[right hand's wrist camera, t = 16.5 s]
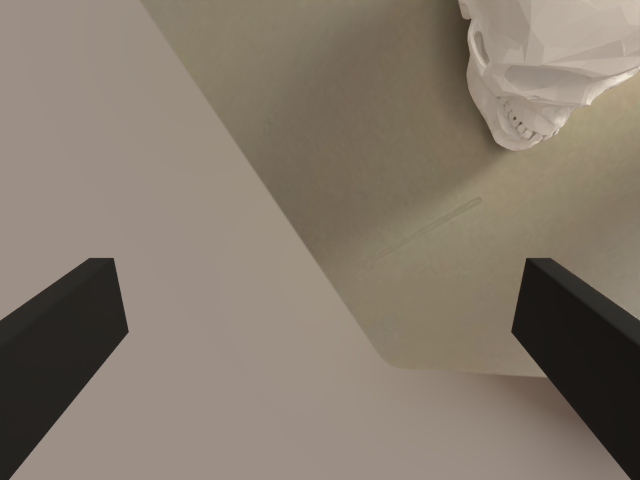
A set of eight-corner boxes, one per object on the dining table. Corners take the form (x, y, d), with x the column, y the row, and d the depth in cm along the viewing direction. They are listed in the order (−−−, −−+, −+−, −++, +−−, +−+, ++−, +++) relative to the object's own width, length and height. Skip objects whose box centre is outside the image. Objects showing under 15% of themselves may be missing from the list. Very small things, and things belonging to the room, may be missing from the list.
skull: (451, 160, 39) (539, 197, 24) (435, -106, 32) (549, -287, 17) (582, 136, 39) (754, 159, 24) (598, -139, 31) (864, -356, 16)
